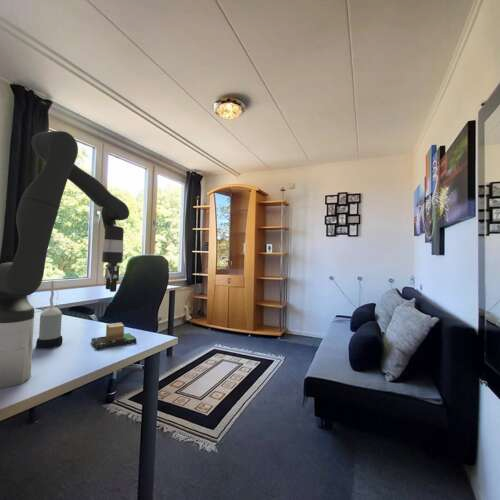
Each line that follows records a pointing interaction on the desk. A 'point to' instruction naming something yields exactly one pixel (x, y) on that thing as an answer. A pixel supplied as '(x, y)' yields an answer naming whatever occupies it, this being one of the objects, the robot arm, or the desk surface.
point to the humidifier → (50, 326)
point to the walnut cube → (115, 331)
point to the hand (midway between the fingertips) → (110, 290)
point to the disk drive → (112, 342)
